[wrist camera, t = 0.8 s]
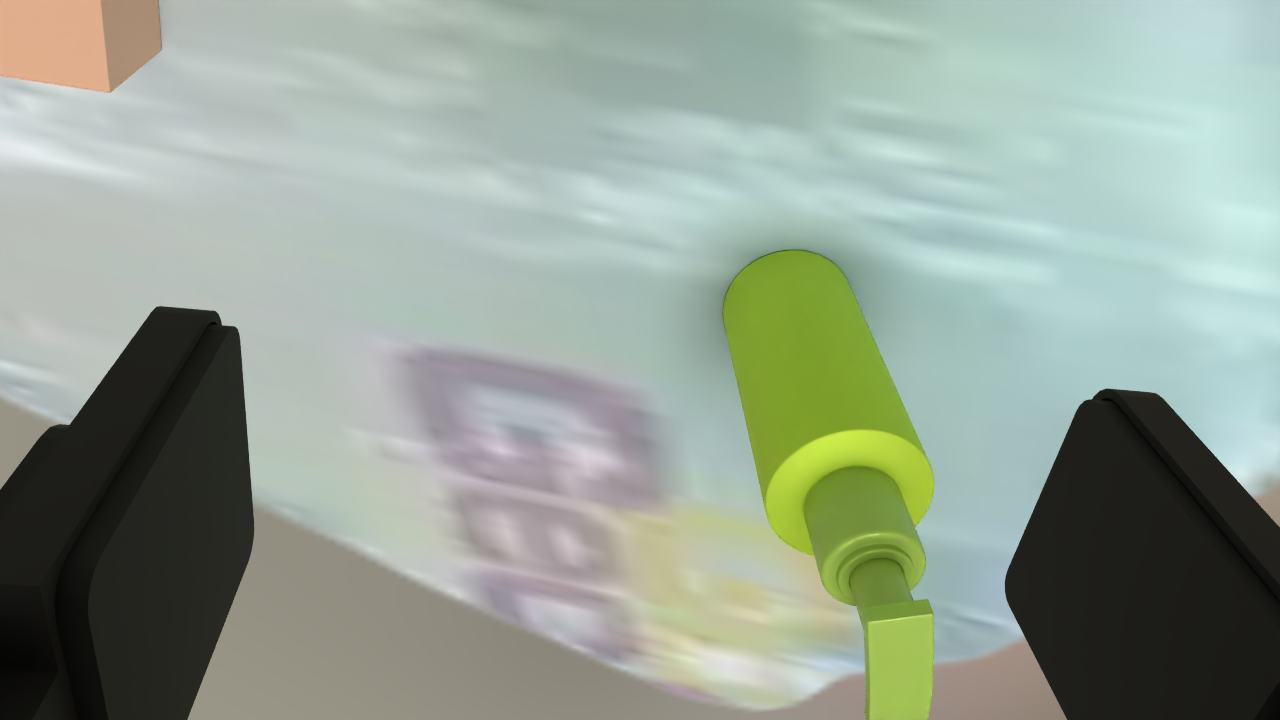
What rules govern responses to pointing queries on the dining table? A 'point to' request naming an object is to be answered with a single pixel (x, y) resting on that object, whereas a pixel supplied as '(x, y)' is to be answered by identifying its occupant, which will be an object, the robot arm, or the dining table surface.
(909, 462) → the soap dispenser
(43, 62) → the peach cube
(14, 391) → the dining table surface
